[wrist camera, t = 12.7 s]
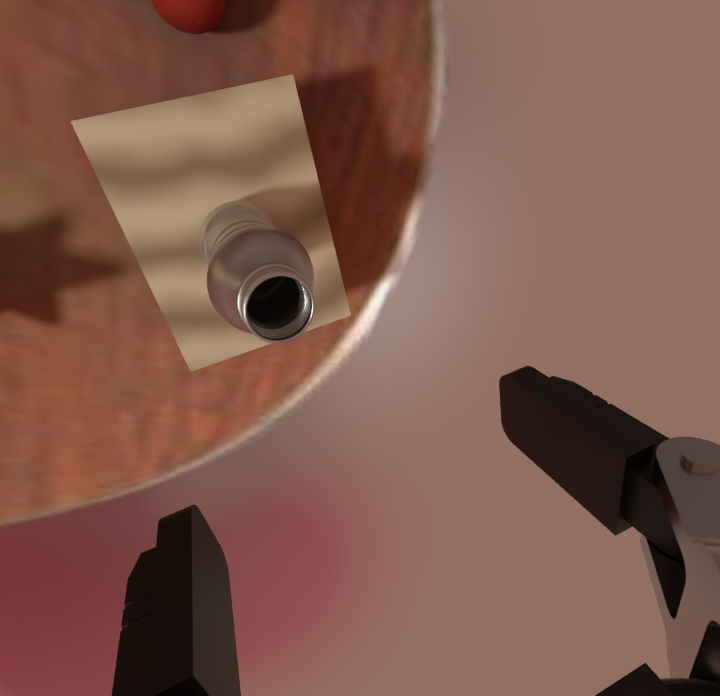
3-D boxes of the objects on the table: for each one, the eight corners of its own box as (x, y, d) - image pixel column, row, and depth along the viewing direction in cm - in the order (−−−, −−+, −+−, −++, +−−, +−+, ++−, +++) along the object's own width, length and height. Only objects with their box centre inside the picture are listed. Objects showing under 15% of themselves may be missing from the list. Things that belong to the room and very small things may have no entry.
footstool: (91, 126, 37) (70, 121, 31) (275, 87, 41) (293, 74, 34) (190, 340, 48) (190, 371, 41) (329, 293, 52) (350, 315, 45)
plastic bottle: (283, 214, 38) (362, 265, 21) (259, 283, 40) (315, 381, 23) (211, 185, 35) (237, 217, 18) (188, 261, 37) (193, 354, 20)
